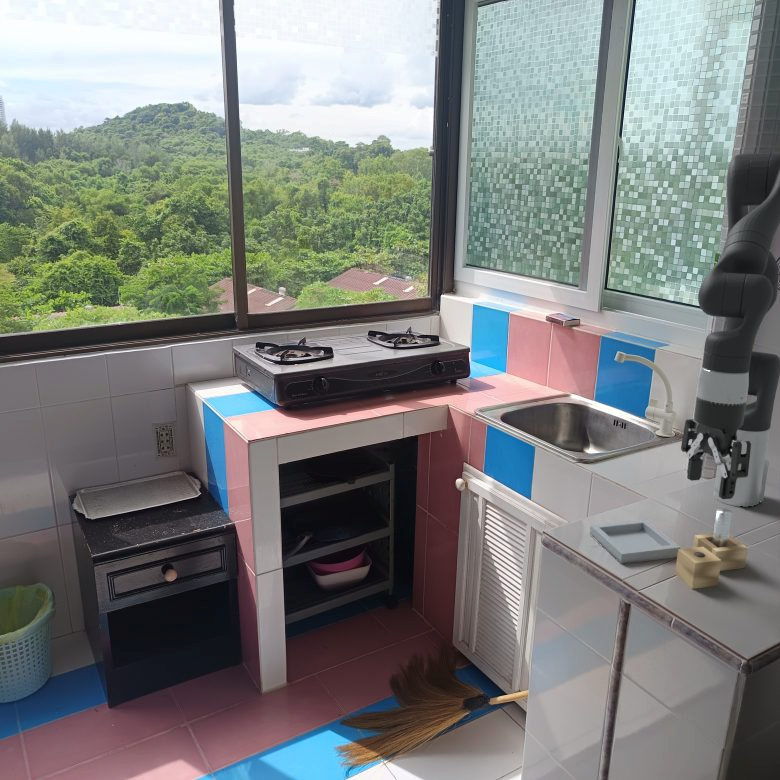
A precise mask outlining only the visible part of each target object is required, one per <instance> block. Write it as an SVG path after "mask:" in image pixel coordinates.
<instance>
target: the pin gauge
mask: <svg viewBox="0 0 780 780" xmlns="http://www.w3.org/2000/svg"><path fill="white" fill-rule="evenodd" d="M732 517H733V512H732V510H730V509H727V508H722V507H721V508H717V509H716V511H715V519H714V526H713V540H712V544H714V545H715V546H716V547H718V548H720V547H727V546H728V539H729V535H730V531H731V524H732Z"/></svg>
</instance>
